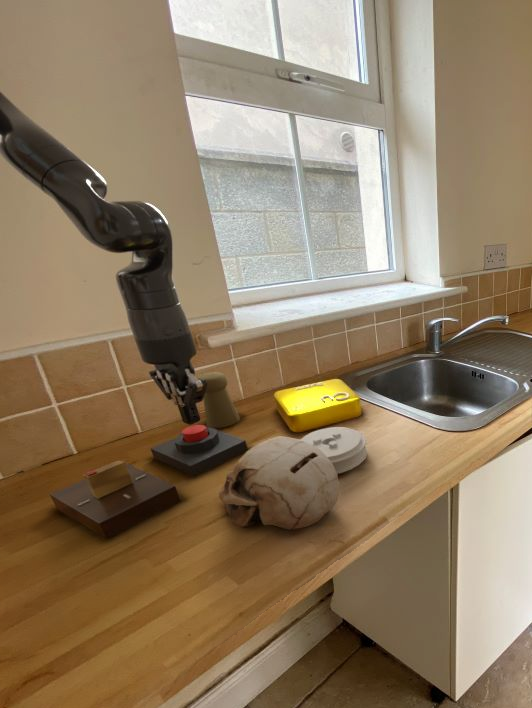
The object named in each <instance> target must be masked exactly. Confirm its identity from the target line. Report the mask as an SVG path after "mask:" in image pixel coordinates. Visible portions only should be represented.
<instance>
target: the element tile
mask: <svg viewBox="0 0 532 708" xmlns="http://www.w3.org/2000/svg"><path fill="white" fill-rule="evenodd" d="M273 398H274V402H275V406H276V410H277V412H278V414H279V415H280V417H281V419H282V420H283V421H284V422H285V424H286V425H287V427H288V428H289V430H290V431H291V432H294V433H304V432H308V431H312V430H316V429H319V428H322V427H326V426H329V425H330V426H331V425H334V424H336V423H342V422H345V421H348V420H352V419H355V418H358V417H360V416H361V415H362V404H361V398H360V395H358V393H356V392H355V391H354V390H352V388H351V387H349V385H347V384H346V382H344V381H343V380H342V379H339V378H332V379H327V380H323V381H318V382H313V383H308V384H305V385H299V386H296V387H290V388H285V389H280V390H277V391H275V393H274V395H273Z"/></svg>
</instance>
